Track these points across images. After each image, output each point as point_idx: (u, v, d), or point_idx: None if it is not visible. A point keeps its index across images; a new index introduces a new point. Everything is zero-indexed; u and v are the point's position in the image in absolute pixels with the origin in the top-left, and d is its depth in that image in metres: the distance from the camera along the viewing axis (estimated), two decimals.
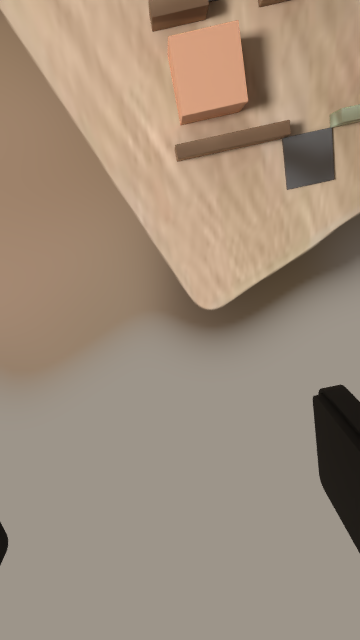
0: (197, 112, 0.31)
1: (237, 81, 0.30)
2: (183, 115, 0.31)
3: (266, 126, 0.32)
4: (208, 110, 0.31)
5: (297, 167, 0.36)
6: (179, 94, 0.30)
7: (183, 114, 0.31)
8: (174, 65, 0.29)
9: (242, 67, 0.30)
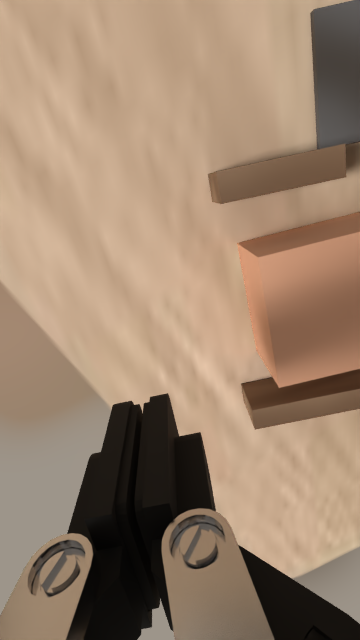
0: (309, 379, 0.15)
1: None
2: (280, 385, 0.15)
3: None
4: (331, 373, 0.15)
5: None
6: (275, 354, 0.15)
7: (281, 385, 0.15)
8: (268, 307, 0.14)
9: None
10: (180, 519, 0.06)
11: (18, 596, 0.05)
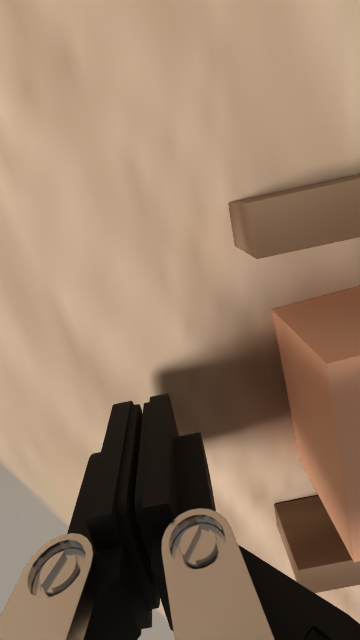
0: None
1: None
2: (355, 556, 0.09)
3: None
4: None
5: None
6: (349, 513, 0.08)
7: (358, 558, 0.09)
8: (342, 444, 0.08)
9: None
10: (180, 519, 0.06)
11: (18, 596, 0.05)
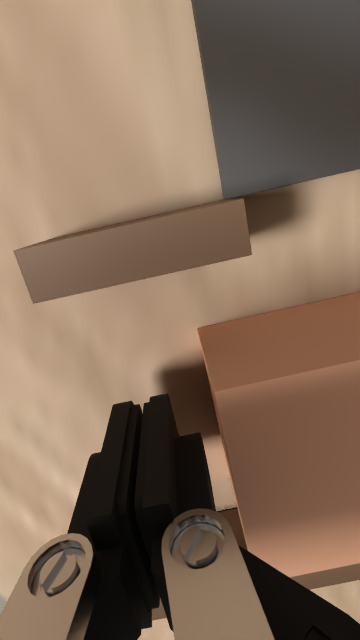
0: (307, 571, 0.09)
1: None
2: None
3: None
4: (343, 561, 0.09)
5: None
6: (249, 536, 0.09)
7: None
8: (235, 470, 0.08)
9: None
10: (180, 519, 0.06)
11: (18, 596, 0.05)
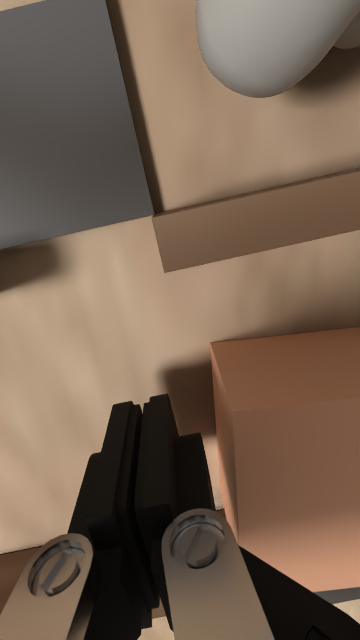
0: None
1: None
2: None
3: None
4: (328, 585, 0.09)
5: None
6: None
7: None
8: (240, 488, 0.08)
9: None
10: (180, 519, 0.06)
11: (18, 596, 0.05)
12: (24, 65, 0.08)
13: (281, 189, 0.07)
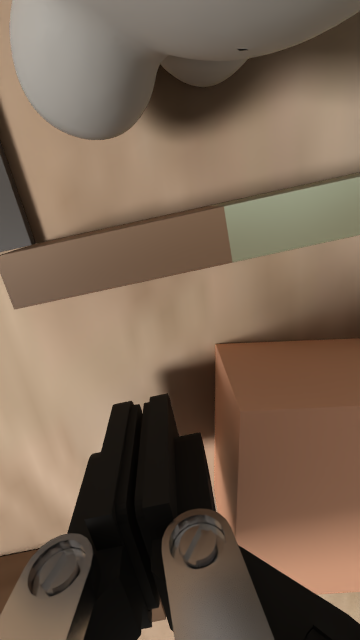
0: None
1: None
2: None
3: None
4: (318, 589, 0.10)
5: None
6: None
7: None
8: (241, 488, 0.08)
9: None
10: (180, 519, 0.06)
11: (18, 596, 0.05)
12: None
13: (122, 229, 0.07)
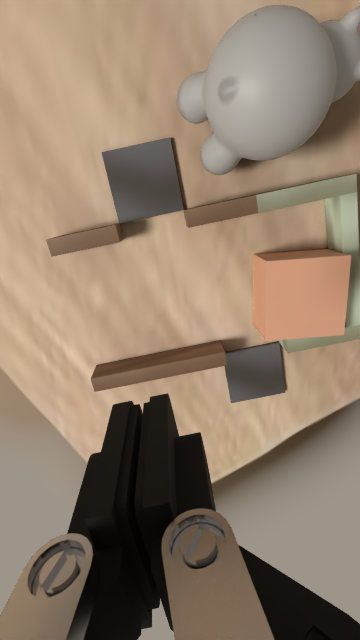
0: (283, 339, 0.26)
1: (336, 314, 0.25)
2: (266, 339, 0.26)
3: (197, 358, 0.27)
4: (296, 338, 0.26)
5: (241, 381, 0.31)
6: (266, 319, 0.25)
7: (266, 339, 0.26)
8: (267, 290, 0.25)
9: (345, 301, 0.25)
10: (180, 519, 0.06)
11: (18, 596, 0.05)
12: (143, 160, 0.25)
13: (224, 202, 0.24)
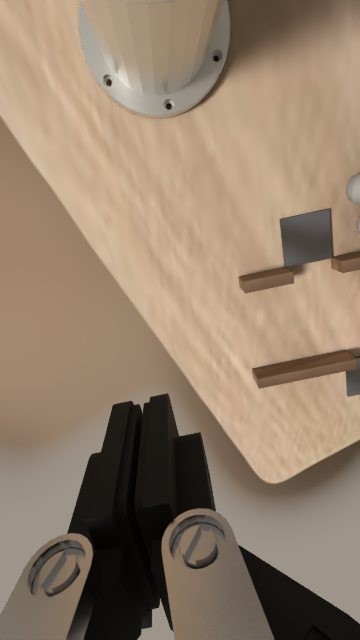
0: None
1: None
2: None
3: (336, 364, 0.38)
4: None
5: (357, 380, 0.41)
6: None
7: None
8: None
9: None
10: (180, 519, 0.06)
11: (18, 596, 0.05)
12: (308, 224, 0.35)
13: None
